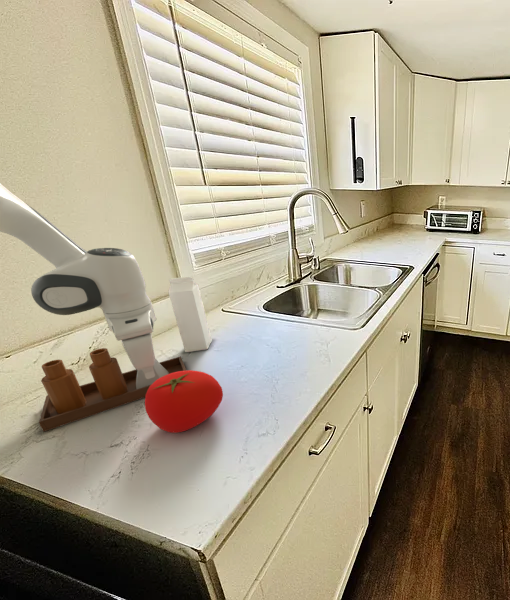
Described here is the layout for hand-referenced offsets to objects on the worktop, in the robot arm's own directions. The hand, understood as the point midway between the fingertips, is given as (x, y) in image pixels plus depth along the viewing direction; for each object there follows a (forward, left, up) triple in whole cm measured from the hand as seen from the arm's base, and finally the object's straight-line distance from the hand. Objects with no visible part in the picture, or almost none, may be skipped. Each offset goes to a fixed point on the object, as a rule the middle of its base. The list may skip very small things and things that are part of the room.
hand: (148, 368), depth 81 cm
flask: (0, 0, -4) cm, 4 cm away
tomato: (+5, -22, -4) cm, 23 cm away
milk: (+13, +14, -4) cm, 19 cm away
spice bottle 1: (-15, 0, -4) cm, 16 cm away
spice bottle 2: (-7, 0, -4) cm, 9 cm away
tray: (-6, 0, -4) cm, 7 cm away
